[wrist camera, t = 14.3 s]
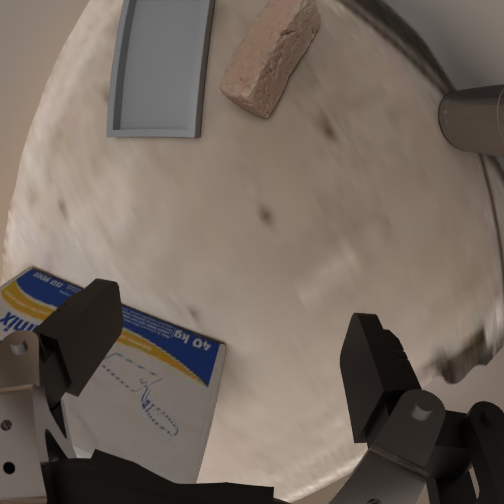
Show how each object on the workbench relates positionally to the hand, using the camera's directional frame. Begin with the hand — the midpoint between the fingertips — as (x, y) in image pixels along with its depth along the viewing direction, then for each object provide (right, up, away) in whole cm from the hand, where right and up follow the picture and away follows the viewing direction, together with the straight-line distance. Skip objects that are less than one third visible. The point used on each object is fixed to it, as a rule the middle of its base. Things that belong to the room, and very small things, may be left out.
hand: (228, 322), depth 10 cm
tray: (-12, +30, +25) cm, 41 cm away
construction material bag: (-25, -11, +43) cm, 50 cm away
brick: (+4, +28, +25) cm, 37 cm away
